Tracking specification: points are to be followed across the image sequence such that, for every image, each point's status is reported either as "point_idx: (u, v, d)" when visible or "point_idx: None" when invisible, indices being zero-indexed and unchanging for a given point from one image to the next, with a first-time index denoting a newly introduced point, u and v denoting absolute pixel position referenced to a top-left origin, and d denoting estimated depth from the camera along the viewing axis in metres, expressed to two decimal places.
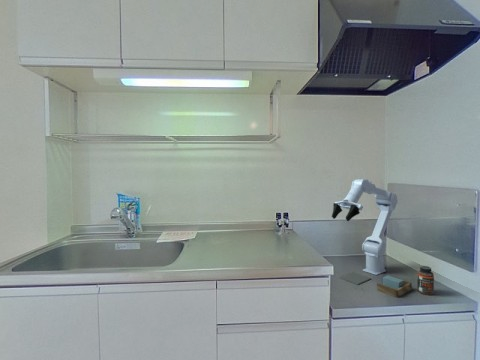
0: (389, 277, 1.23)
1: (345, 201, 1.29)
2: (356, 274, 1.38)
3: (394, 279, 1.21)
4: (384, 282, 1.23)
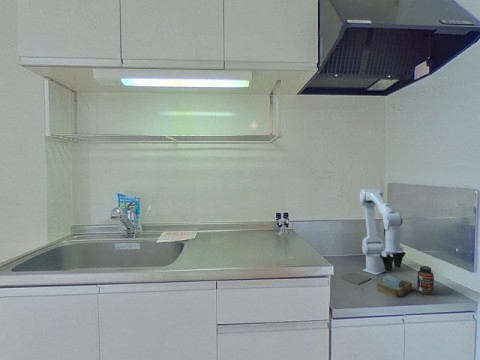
0: (389, 277, 1.23)
1: None
2: (356, 274, 1.38)
3: (394, 279, 1.21)
4: (384, 282, 1.23)
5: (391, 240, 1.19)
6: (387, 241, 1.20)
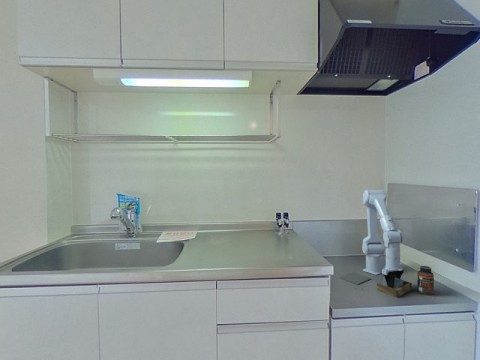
0: None
1: None
2: (356, 274, 1.38)
3: None
4: (384, 282, 1.23)
5: (391, 258, 1.19)
6: (387, 258, 1.21)
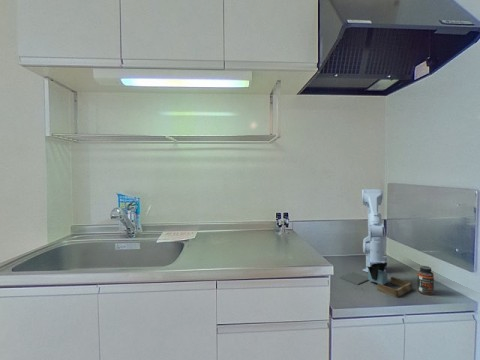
0: None
1: None
2: (356, 274, 1.38)
3: (378, 271, 1.27)
4: (369, 274, 1.29)
5: (373, 250, 1.26)
6: (371, 252, 1.27)
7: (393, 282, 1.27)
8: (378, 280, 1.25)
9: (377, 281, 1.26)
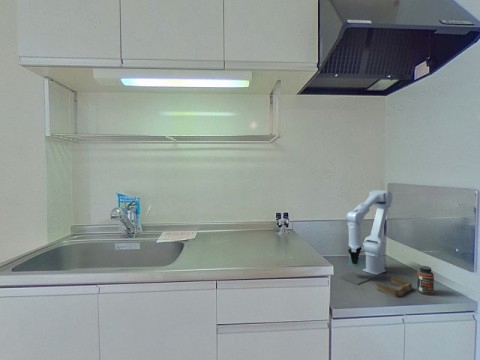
0: None
1: None
2: (356, 274, 1.38)
3: None
4: (350, 261, 1.33)
5: (349, 235, 1.34)
6: (352, 237, 1.32)
7: (393, 282, 1.27)
8: (359, 265, 1.31)
9: (358, 266, 1.32)
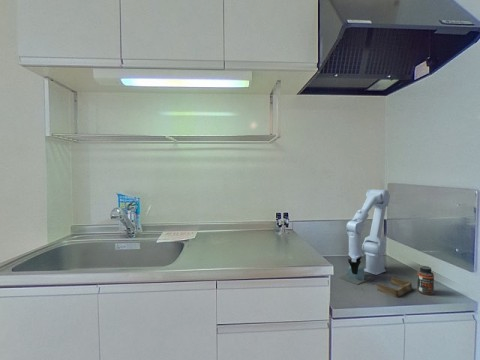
0: None
1: None
2: None
3: None
4: (350, 272, 1.34)
5: (349, 244, 1.34)
6: (352, 247, 1.32)
7: (393, 282, 1.27)
8: (359, 276, 1.32)
9: (358, 278, 1.32)
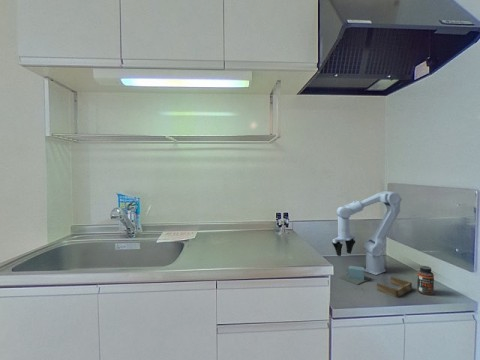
0: (352, 267, 1.35)
1: (348, 240, 1.41)
2: None
3: (357, 268, 1.34)
4: (350, 272, 1.34)
5: None
6: (338, 230, 1.43)
7: (393, 282, 1.27)
8: (359, 276, 1.32)
9: (358, 278, 1.32)
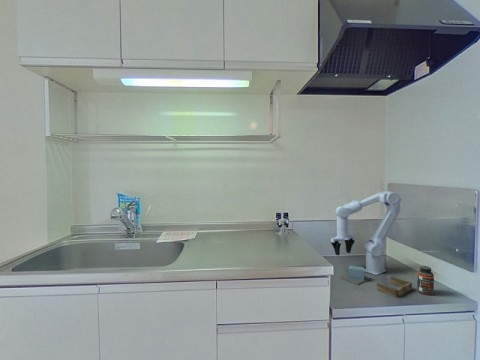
0: (352, 267, 1.35)
1: (346, 239, 1.42)
2: None
3: (357, 268, 1.34)
4: (350, 272, 1.34)
5: None
6: (337, 230, 1.44)
7: (393, 282, 1.27)
8: (359, 276, 1.32)
9: (358, 278, 1.32)
